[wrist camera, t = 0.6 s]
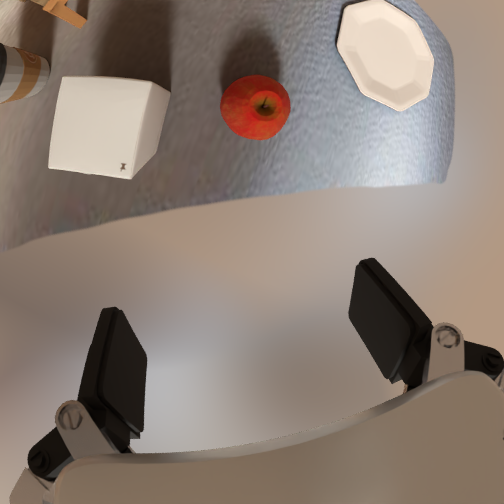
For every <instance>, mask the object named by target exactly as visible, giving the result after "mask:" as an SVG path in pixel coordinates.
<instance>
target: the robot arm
mask: <svg viewBox="0 0 504 504" xmlns="http://www.w3.org/2000/svg"><path fill="white" fill-rule="evenodd" d="M349 319H350V321H351V322H352V324H353V326H354V327H355V329H356V331H357V332H358V334H359V335H360V337H361V339H362V340H363V342H364V343H365V345H366V347H367V349H368V350H369V352H370V354H371V355H372V357H373V359H374V360H375V362H376V364H377V365H378V367H379V369H380V371H381V372H382V374H383V376H384V377H385V378H386V379H389V380H390V382H391V383H392V384H393V383H395V382H397V381H399V380H403V382H404V383H405V386H404V391H403V394H402V395H400V396H398V397H395V398H393V399H391V400H389V401H386V402H384V403H382V404H380V405H377V406H375V407H372V408H370V409H368V410H365V411H363V412H360V413H358V414H355V415H352V416H350V417H347V418H344V419H342V420H338V421H335V422H333V423H329V424H326V425H323V426H320V427H317V428H314V429H310V430H306V431H303V432H299V433H296V434H292V435H288V436H284V437H280V438H275V439H271V440H266V441H262V442H256V443H251V444H245V445H239V446H233V447H227V448H219V449H211V450H201V451H191V452H174V453H142V454H140V453H135V452H134V450H133V449H132V448H131V447H130V446H129V445H130V439H140V432H143V430H144V402H145V383H146V369H147V356H146V353H145V351H144V349H143V348H142V346H141V344H140V342H139V341H138V339H137V337H136V335H135V333H134V332H133V330H132V328H131V326H130V324H129V322H128V320H127V319H126V316H125V314H124V313H123V311H122V310H119V309H118V308H117V307H110V308H103V309H102V311H101V314H100V317H99V321H98V323H97V327H96V330H95V334H94V337H93V341H92V344H91V345H90V348H89V352H88V355H87V359H86V363H85V367H84V371H83V376H82V380H81V385H80V389H79V394H78V399H77V401H75V400H70V401H66V402H65V403H63V404H62V405H61V406H60V407H59V408H58V410H57V412H56V415H55V423H56V427H55V428H54V429H53V430H52V431H51V432H49V434H47V435H46V436H45V437H44V438H42V439H41V440H40V441H39V442H38V443H37V444H35V445H34V446H33V447H32V448H31V450H30V451H29V454H28V465H29V469H28V468H25V469H24V471H23V473H22V474H21V476H20V478H19V480H18V481H17V483H16V485H15V487H14V489H13V491H12V493H11V495H10V504H504V360H503V357H502V355H501V354H500V353H499V352H498V351H497V350H496V349H494V348H491V347H487V346H483V345H480V344H476V343H472V342H468V341H465V340H464V338H463V335H462V333H461V331H460V330H459V329H458V328H457V327H456V326H454V325H453V324H450V323H439V324H437V325H436V326H435V327H433V325H432V324H431V323H432V322H431V321H430V320H429V318H428V317H427V316H426V315H425V313H424V312H423V311H422V310H421V309H420V308H419V307H418V305H417V304H416V303H415V302H414V301H413V299H412V298H411V297H410V296H409V295H408V294H407V293H406V291H405V290H404V289H403V288H402V287H401V286H400V285H399V284H398V283H397V281H396V280H395V279H394V278H393V277H392V276H391V275H390V274H389V273H388V272H387V271H386V270H385V269H384V268H383V267H382V265H381V264H380V263H379V262H378V261H377V260H376V259H375V258H368V259H364V260H361V261H360V262H359V264H358V265H357V266H356V270H355V277H354V283H353V289H352V295H351V301H350V307H349Z"/></svg>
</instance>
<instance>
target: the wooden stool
mask: <svg viewBox="0 0 504 504" xmlns="http://www.w3.org/2000/svg"><path fill="white" fill-rule="evenodd" d="M19 1H22V2H26V0H19ZM31 1H33V2H35V3H37V4H39V5H41V6H43V7H45V5H46V4H47V3H48V1H49V0H31Z"/></svg>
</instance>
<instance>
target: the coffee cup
mask: <svg viewBox="0 0 504 504" xmlns="http://www.w3.org/2000/svg"><path fill="white" fill-rule="evenodd" d="M49 73H50V68H49V64H48V62H47V60H46V59H45V58H43V57H41V56H38V55H36V54H34V53H31V52H28V51H25V50H22V49H18V48H15V47H9V46H5V45H3V44H2V43H0V104H1V103H5V102H9V101H14V100H18V99H22V98H26V97H31V96H34V95H36V94H37V93H38V92H39V91H40V90H41V89H42V88H43V87H44V86H45V84H46V82H47V80H48V77H49Z"/></svg>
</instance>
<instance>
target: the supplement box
mask: <svg viewBox="0 0 504 504" xmlns="http://www.w3.org/2000/svg"><path fill="white" fill-rule="evenodd" d="M170 95H171V92H169V91H167V90H165V89H164V88H162V87H160V86H159V85H157V84H155V83H153V82H152V81H146V80H138V79H131V78H120V77H106V76H63V78H62V83H61V87H60V91H59V95H58V101H57V106H56V111H55V117H54V123H53V129H52V136H51V144H50V153H49V164H48V168H50V169H59V170H68V171H75V172H81V173H86V174H98V175H105V176H112V177H118V178H125V179H131V178H132V177H133V176H134V175H135V174H136V173H137V172H138V171H139V170H140V169H141V168H142V166H143V165H144V164H145V163H146V162H147V161H148V160H149V159H150V158H151V157H152V156H153V155H154V154H155V153H156V152H157V148H158V143H159V139H160V135H161V130H162V126H163V122H164V118H165V114H166V110H167V107H168V103H169V99H170Z"/></svg>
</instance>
